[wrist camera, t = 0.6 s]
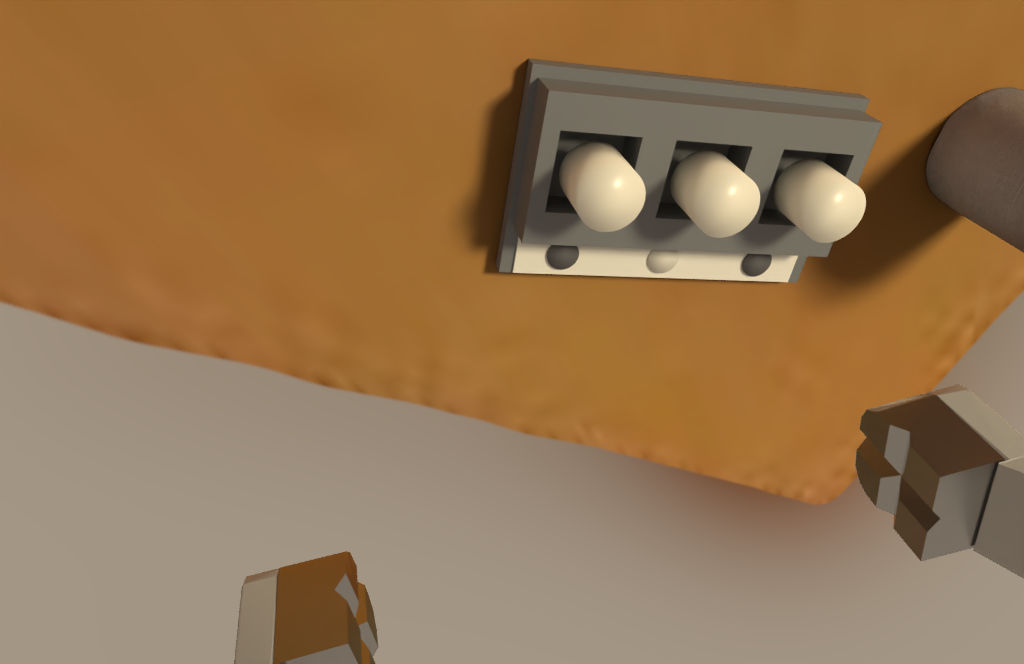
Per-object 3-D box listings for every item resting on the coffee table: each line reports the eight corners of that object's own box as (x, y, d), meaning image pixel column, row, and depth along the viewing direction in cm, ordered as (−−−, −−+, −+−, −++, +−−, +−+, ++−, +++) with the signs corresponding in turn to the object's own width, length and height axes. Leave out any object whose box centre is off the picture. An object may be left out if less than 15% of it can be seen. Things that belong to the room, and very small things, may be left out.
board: (528, 58, 50) (543, 76, 47) (860, 94, 56) (893, 112, 53) (495, 264, 58) (506, 291, 55) (789, 275, 64) (814, 300, 61)
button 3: (785, 155, 54) (818, 180, 50) (839, 160, 55) (876, 184, 51) (764, 213, 56) (795, 241, 52) (817, 216, 57) (850, 244, 54)
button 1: (565, 137, 50) (584, 163, 46) (629, 142, 51) (653, 168, 47) (553, 201, 52) (570, 230, 48) (614, 204, 53) (636, 233, 49)
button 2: (679, 147, 52) (706, 172, 48) (738, 151, 53) (769, 177, 49) (662, 207, 54) (687, 236, 50) (719, 211, 55) (747, 239, 52)
